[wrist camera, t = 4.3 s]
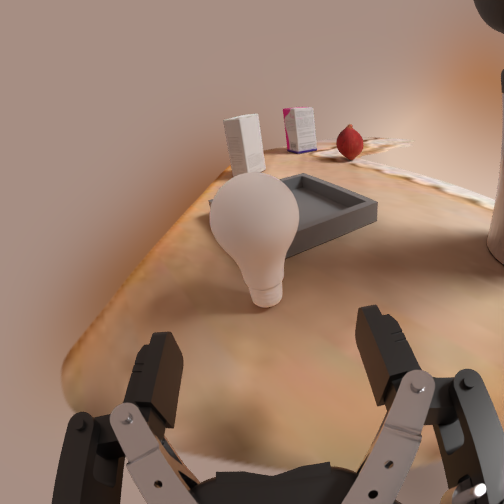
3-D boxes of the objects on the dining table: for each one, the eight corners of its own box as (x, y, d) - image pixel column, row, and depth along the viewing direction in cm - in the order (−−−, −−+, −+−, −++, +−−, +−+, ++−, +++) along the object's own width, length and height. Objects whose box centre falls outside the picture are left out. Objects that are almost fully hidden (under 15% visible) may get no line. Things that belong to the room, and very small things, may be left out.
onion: (341, 164, 56) (339, 126, 52) (334, 157, 61) (332, 123, 57) (367, 162, 55) (366, 125, 51) (359, 156, 60) (357, 122, 56)
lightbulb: (239, 339, 21) (203, 199, 15) (227, 291, 26) (198, 173, 21) (316, 317, 22) (310, 177, 16) (291, 274, 27) (278, 157, 21)
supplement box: (318, 150, 69) (313, 106, 63) (298, 154, 67) (292, 108, 61) (305, 147, 73) (301, 106, 67) (286, 151, 72) (281, 108, 66)
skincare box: (250, 169, 61) (241, 114, 54) (267, 170, 58) (259, 113, 52) (231, 178, 57) (221, 119, 50) (249, 179, 54) (239, 117, 48)
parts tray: (304, 187, 46) (303, 173, 45) (376, 220, 33) (377, 201, 32) (212, 216, 41) (208, 200, 40) (262, 267, 29) (258, 245, 27)
